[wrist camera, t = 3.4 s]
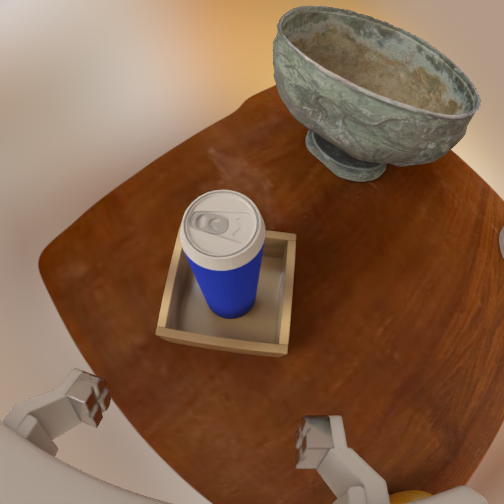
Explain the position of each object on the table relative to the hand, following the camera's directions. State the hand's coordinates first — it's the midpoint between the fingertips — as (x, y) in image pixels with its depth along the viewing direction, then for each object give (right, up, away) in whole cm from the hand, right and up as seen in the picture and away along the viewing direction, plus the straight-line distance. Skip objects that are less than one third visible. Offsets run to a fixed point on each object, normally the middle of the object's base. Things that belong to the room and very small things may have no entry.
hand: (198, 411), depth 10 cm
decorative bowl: (+17, +21, +30) cm, 41 cm away
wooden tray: (0, +1, +20) cm, 20 cm away
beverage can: (0, +1, +20) cm, 20 cm away
